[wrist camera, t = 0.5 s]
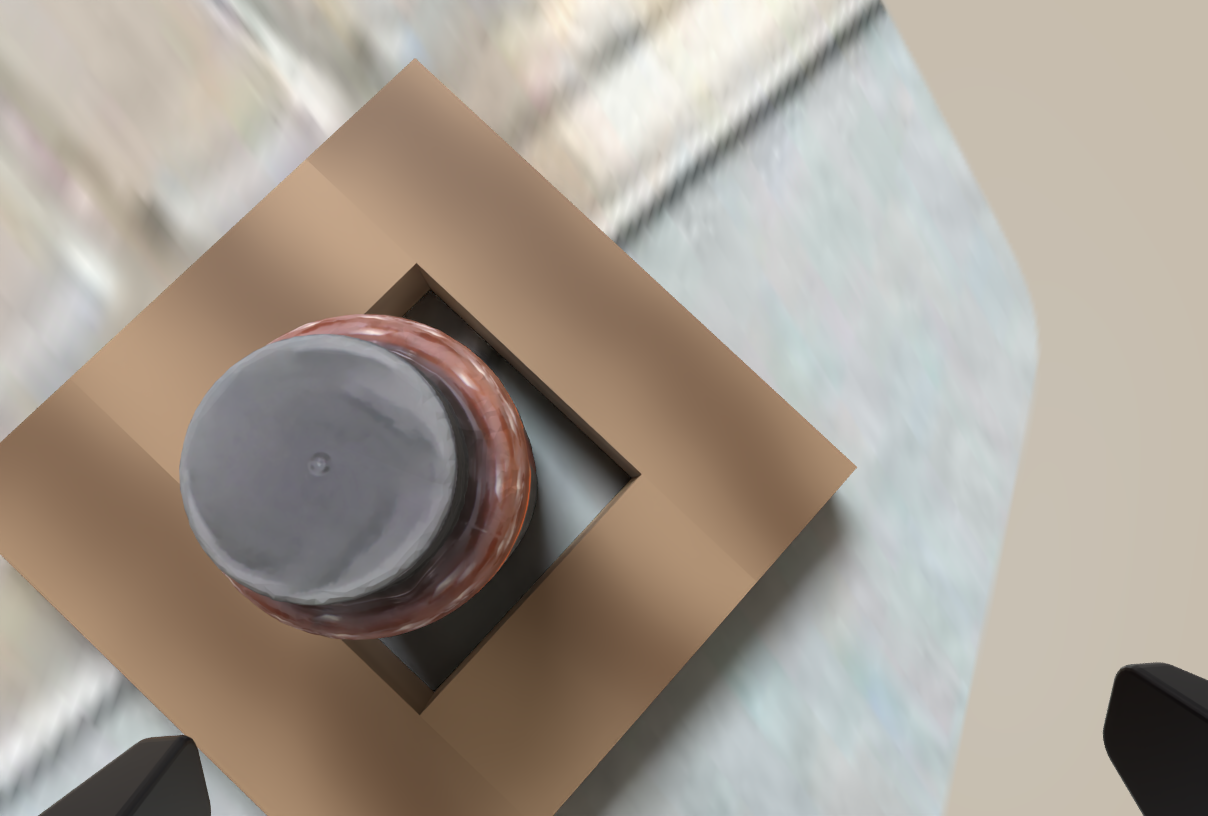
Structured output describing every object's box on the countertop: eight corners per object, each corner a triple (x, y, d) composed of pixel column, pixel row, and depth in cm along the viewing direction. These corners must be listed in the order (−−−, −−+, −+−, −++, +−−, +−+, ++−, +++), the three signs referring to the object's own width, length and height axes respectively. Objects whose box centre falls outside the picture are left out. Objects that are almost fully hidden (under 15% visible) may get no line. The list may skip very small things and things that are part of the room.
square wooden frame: (436, 913, 21) (421, 966, 19) (10, 498, 22) (-58, 496, 19) (824, 471, 24) (857, 466, 21) (428, 104, 24) (415, 58, 22)
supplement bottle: (360, 355, 23) (184, 211, 12) (562, 410, 23) (575, 319, 12) (296, 561, 22) (41, 613, 11) (505, 616, 22) (463, 722, 11)
